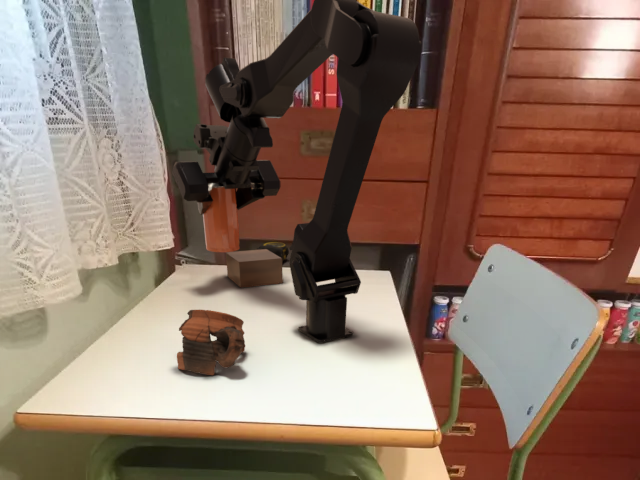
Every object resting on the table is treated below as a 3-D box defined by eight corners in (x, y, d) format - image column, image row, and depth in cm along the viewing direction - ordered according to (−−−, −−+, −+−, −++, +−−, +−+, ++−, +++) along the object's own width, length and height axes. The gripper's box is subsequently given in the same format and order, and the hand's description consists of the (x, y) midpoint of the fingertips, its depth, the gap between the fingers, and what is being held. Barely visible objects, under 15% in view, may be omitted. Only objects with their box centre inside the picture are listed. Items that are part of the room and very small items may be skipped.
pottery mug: (159, 367, 65) (168, 306, 64) (218, 378, 72) (226, 323, 71) (209, 373, 57) (220, 303, 56) (270, 385, 64) (279, 323, 63)
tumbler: (243, 251, 93) (238, 178, 86) (209, 253, 91) (202, 179, 84) (235, 244, 98) (230, 175, 91) (203, 246, 96) (196, 175, 89)
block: (282, 283, 99) (282, 258, 96) (240, 287, 96) (239, 262, 93) (267, 272, 106) (266, 249, 103) (227, 276, 102) (225, 252, 100)
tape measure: (254, 262, 113) (253, 246, 111) (266, 256, 119) (265, 240, 117) (281, 265, 111) (281, 248, 109) (292, 259, 117) (292, 243, 115)
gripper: (270, 107, 84) (243, 173, 97) (167, 102, 74) (153, 177, 88) (296, 161, 83) (265, 221, 96) (195, 163, 73) (176, 229, 86)
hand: (216, 211), depth 92 cm, fingers closed on tumbler, 6 cm apart
